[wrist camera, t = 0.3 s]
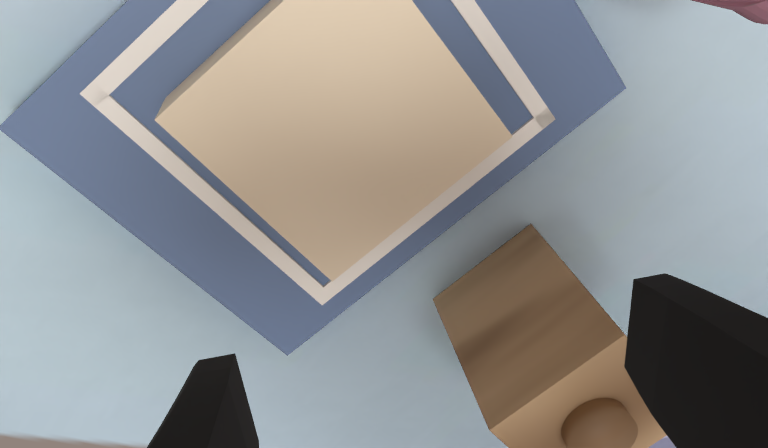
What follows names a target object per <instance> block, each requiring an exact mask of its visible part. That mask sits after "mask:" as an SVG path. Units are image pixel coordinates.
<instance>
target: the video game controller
mask: <svg viewBox="0 0 768 448" xmlns="http://www.w3.org/2000/svg"><path fill="white" fill-rule="evenodd" d="M692 1H696V2H701V3H705V4H709V5H713V6H717V7H721V8H726V9H730V10H733V11H735V12H736V13H738V14H740V15H741V16H743V17H745V18H746V19H748V20H751V21H753V22H756V23H761V24H768V0H692Z"/></svg>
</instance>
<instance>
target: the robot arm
mask: <svg viewBox="0 0 768 448" xmlns="http://www.w3.org/2000/svg"><path fill="white" fill-rule="evenodd" d="M624 367H625V369H626V371H627V373H628V374H629V376H630V378H631V380H632V382H633V384H634V385H635V387H636V389H637V391H638V393H639V394H640V396H641V398H642V399H643V401H644V403H645V404H646V406H647V408H648V409H649V411H650V413H651V415H652V416H653V417H654V419H655V420H656V421H657V423H658V424H659V425H660V427H661V428H662V429H663V431H664V432H665V433H666V435H667V436H665V437H664V438H662V439H661V440H659V441H658V442H656V443H654V444H653V445H651V446H650V447H648V448H768V318H766V317H764V316H762V315H760V314H757V313H755V312H753V311H751V310H748V309H746V308H744V307H742V306H740V305H737V304H735V303H733V302H731V301H729V300H726V299H724V298H722V297H720V296H718V295H715V294H713V293H711V292H709V291H707V290H704V289H702V288H700V287H697V286H695V285H693V284H691V283H688V282H686V281H683V280H681V279H678V278H676V277H673V276H671V275H668V274H660V275H654V276H649V277H644V278H638V279H634V281H633V290H632V299H631V309H630V318H629V327H628V336H627V345H626V354H625V364H624ZM147 448H259V440H258V437H257V433H256V429H255V425H254V422H253V418H252V414H251V411H250V407H249V403H248V400H247V396H246V392H245V389H244V385H243V381H242V378H241V374H240V370H239V367H238V363H237V359H236V356H235V354H230V355H224V356H219V357H214V358H208V359H203V360H199V361H198V362H197V363H196V364H195V366H194V367H193V369H192V371H191V373H190V374H189V376H188V378H187V380H186V382H185V384H184V385H183V387H182V389H181V391H180V393H179V394H178V396H177V398H176V400H175V402H174V403H173V405H172V407H171V409H170V410H169V412H168V414H167V415H166V417H165V419H164V421H163V422H162V424H161V426H160V427H159V429H158V431H157V432H156V434H155V435H154V437H153V439H152V440H151V442H150V443H149V445H148V447H147Z"/></svg>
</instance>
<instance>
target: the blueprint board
mask: <svg viewBox="0 0 768 448" xmlns="http://www.w3.org/2000/svg"><path fill="white" fill-rule="evenodd" d="M624 89H626V87H625V85H624V83H623V81H622V80H621V78H620V76H619V75H618V73H617V71H616V70H615V68H614V66H613V65H612V63H611V61H610V59H609V58H608V56H607V54H606V53H605V51H604V49H603V48H602V46H601V44H600V43H599V41H598V39H597V37H596V36H595V34H594V32H593V31H592V29H591V27H590V26H589V24H588V22H587V21H586V19H585V17H584V15H583V14H582V12H581V10H580V9H579V7H578V5H577V4H576V2H575V0H128V1H127V2H126V3H125V4H124V5H123V6H122V7H121V8H120V9H119V10H118V11H117V12H116V13H115V14H114V15H113V16H112V17H110V18H109V19H108V20H107V21H106V22H105V23H104V24H103V25H102V26H101V27H100V28H99V29H98V30H97V31H96V32H95V33H94V34H93V35H92V36H91V37H90V38H89V39H88V40H87V41H86V42H85V43H84V44H83V45H82V46H81V47H80V48H79V49H78V50H77V51H76V52H75V53H74V54H73V55H72V56H71V57H70V58H69V59H68V60H67V61H66V62H65V63H64V64H63V65H61V66H60V67H59V68H58V69H57V70H56V71H55V72H54V73H53V74H52V75H51V76H50V77H49V78H48V79H47V80H46V81H45V82H44V83H43V84H42V85H41V86H40V87H39V88H38V89H37V90H36V91H35V92H34V93H33V94H32V95H31V96H30V97H29V98H28V99H27V100H26V101H25V102H24V103H23V104H22V105H21V106H20V107H19V108H18V109H17V110H16V111H15V112H14V113H13V114H11V115H10V116H9V117H8V118H7V119H6V120H5V121H4V122H3V123H2V124H1V125H0V130H1V131H2V132H3V133H5V134H6V135H7V136H9V137H10V138H11V139H12V140H14V141H15V142H16V143H17V144H19V145H20V146H21V147H23V148H24V149H25V150H26V151H28V152H29V153H30V154H31V155H33V156H34V157H35V158H37V159H38V160H39V161H40V162H42V163H43V164H44V165H45V166H47V167H48V168H49V169H51V170H52V171H53V172H54V173H56V174H57V175H58V176H59V177H61V178H62V179H63V180H65V181H66V182H67V183H68V184H70V185H71V186H72V187H73V188H75V189H76V190H77V191H79V192H80V193H81V194H82V195H84V196H85V197H86V198H87V199H89V200H90V201H91V202H93V203H94V204H95V205H96V206H98V207H99V208H100V209H101V210H103V211H104V212H105V213H107V214H108V215H109V216H110V217H112V218H113V219H114V220H115V221H117V222H118V223H119V224H121V225H122V226H123V227H124V228H126V229H127V230H128V231H129V232H131V233H132V234H133V235H135V236H136V237H137V238H138V239H140V240H141V241H142V242H143V243H145V244H146V245H147V246H149V247H150V248H151V249H152V250H154V251H155V252H156V253H157V254H159V255H160V256H161V257H163V258H164V259H165V260H166V261H168V262H169V263H170V264H171V265H173V266H174V267H175V268H177V269H178V270H179V271H180V272H182V273H183V274H184V275H185V276H187V277H188V278H189V279H191V280H192V281H193V282H194V283H196V284H197V285H198V286H199V287H201V288H202V289H203V290H205V291H206V292H207V293H208V294H210V295H211V296H212V297H213V298H215V299H216V300H217V301H219V302H220V303H221V304H222V305H224V306H225V307H226V308H227V309H229V310H230V311H231V312H233V313H234V314H235V315H236V316H238V317H239V318H240V319H241V320H243V321H244V322H245V323H247V324H248V325H249V326H250V327H252V328H253V329H254V330H255V331H257V332H258V333H259V334H261V335H262V336H263V337H264V338H266V339H267V340H268V341H269V342H271V343H272V344H273V345H275V346H276V347H277V348H278V349H280V350H281V351H282V352H283V353H285V354H286V355H287V356H288V355H289V354H290V353H291V352H293V351H294V350H295V349H296V348H298V347H299V346H300V345H301V344H303V343H304V342H305V341H307V340H308V339H309V338H310V337H312V336H313V335H314V334H315V333H317V332H318V331H319V330H320V329H322V328H323V327H324V326H326V325H327V324H328V323H329V322H331V321H332V320H333V319H334V318H336V317H337V316H338V315H339V314H341V313H342V312H343V311H345V310H346V309H347V308H348V307H350V306H351V305H352V304H353V303H355V302H356V301H357V300H358V299H360V298H361V297H362V296H364V295H365V294H366V293H367V292H369V291H370V290H371V289H372V288H374V287H375V286H376V285H377V284H379V283H380V282H381V281H383V280H384V279H385V278H386V277H388V276H389V275H390V274H391V273H393V272H394V271H395V270H396V269H398V268H399V267H400V266H402V265H403V264H404V263H405V262H407V261H408V260H409V259H410V258H412V257H413V256H414V255H415V254H417V253H418V252H419V251H421V250H422V249H423V248H424V247H426V246H427V245H428V244H429V243H431V242H432V241H433V240H434V239H436V238H437V237H438V236H440V235H441V234H442V233H443V232H445V231H446V230H447V229H448V228H450V227H451V226H452V225H453V224H455V223H456V222H457V221H459V220H460V219H461V218H462V217H464V216H465V215H466V214H467V213H469V212H470V211H471V210H472V209H474V208H475V207H476V206H477V205H479V204H480V203H481V202H483V201H484V200H485V199H486V198H488V197H489V196H490V195H491V194H493V193H494V192H495V191H496V190H498V189H499V188H500V187H502V186H503V185H504V184H505V183H507V182H508V181H509V180H510V179H512V178H513V177H514V176H515V175H517V174H518V173H519V172H521V171H522V170H523V169H524V168H526V167H527V166H528V165H529V164H531V163H532V162H533V161H534V160H536V159H537V158H538V157H540V156H541V155H542V154H543V153H545V152H546V151H547V150H548V149H550V148H551V147H552V146H553V145H555V144H556V143H557V142H559V141H560V140H561V139H562V138H564V137H565V136H566V135H567V134H569V133H570V132H571V131H572V130H574V129H575V128H576V127H578V126H579V125H580V124H581V123H583V122H584V121H585V120H586V119H588V118H589V117H590V116H591V115H593V114H594V113H595V112H597V111H598V110H599V109H600V108H602V107H603V106H604V105H605V104H607V103H608V102H609V101H610V100H612V99H613V98H614V97H616V96H617V95H618V94H619V93H621V92H622V91H623V90H624Z"/></svg>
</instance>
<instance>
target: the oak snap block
mask: <svg viewBox="0 0 768 448" xmlns="http://www.w3.org/2000/svg"><path fill="white" fill-rule="evenodd" d="M433 301H434V303H435V306H436V308H437V310H438V313H439V315H440V317H441V319H442V322H443V324H444V326H445V329H446V331H447V333H448V336H449V338H450V340H451V343H452V345H453V347H454V350H455V352H456V354H457V356H458V359H459V361H460V363H461V366H462V368H463V370H464V373H465V375H466V377H467V380H468V382H469V384H470V386H471V389H472V391H473V393H474V396H475V398H476V400H477V403H478V405H479V407H480V410H481V412H482V414H483V417H484V419H485V421H486V423H487V426H488V428H489V430H490V431H491V432H492V433H493V434H494V435H495V436H496V437H497V438H499V439H500V440H501V441H502V442H503V443H504V444H505V445H506V446H507V447H509V448H648V447H650V446H651V445H653V444H654V443H656V442H658V441H659V440H661V439H662V438H664V437H665V436H667V435H666V433H665V432H664V431H663V429H662V428H661V427H660V425H659V424H658V423H657V421H656V420H655V419H654V417H653V416H652V415H651V413H650V411H649V409H648V408H647V406H646V404H645V403H644V401H643V399H642V398H641V396H640V394H639V393H638V391H637V389H636V387H635V385H634V384H633V382H632V380H631V378H630V376H629V374H628V373H627V371H626V369H625V367H624V364H625V354H626V345H627V337H626V335H625V334H624V333H623V332H622V330H621V329H620V328H619V327H618V326H617V325H616V323H615V322H614V321H613V320H612V319H611V317H610V316H609V315H608V314H607V313H606V312H605V310H604V309H603V308H602V307H601V306H600V304H599V303H598V302H597V301H596V300H595V299H594V297H593V296H592V295H591V294H590V293H589V291H588V290H587V289H586V288H585V287H584V286H583V284H582V283H581V282H580V281H579V280H578V278H577V277H576V276H575V275H574V274H573V273H572V271H571V270H570V269H569V268H568V267H567V266H566V264H565V263H564V262H563V261H562V260H561V258H560V257H559V256H558V255H557V254H556V253H555V251H554V250H553V249H552V248H551V247H550V245H549V244H548V243H547V242H546V241H545V240H544V238H543V237H542V236H541V235H540V234H539V232H538V231H537V230H536V229H535V228H534V227H533V225H532V224H530V225H529V226H527V227H526V228H525V229H523V230H522V231H521V232H519V233H518V234H517V235H516V236H514V237H513V238H512V239H510V240H509V241H508V242H506V243H505V244H504V245H503V246H501V247H500V248H499V249H497V250H496V251H495V252H493V253H492V254H491V255H490V256H488V257H487V258H486V259H484V260H483V261H482V262H480V263H479V264H478V265H476V266H475V267H474V268H473V269H471V270H470V271H469V272H467V273H466V274H465V275H463V276H462V277H461V278H460V279H458V280H457V281H456V282H454V283H453V284H452V285H450V286H449V287H448V288H447V289H445V290H444V291H443V292H441V293H440V294H439V295H437V296H436V297H435V298H434V299H433Z"/></svg>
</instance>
